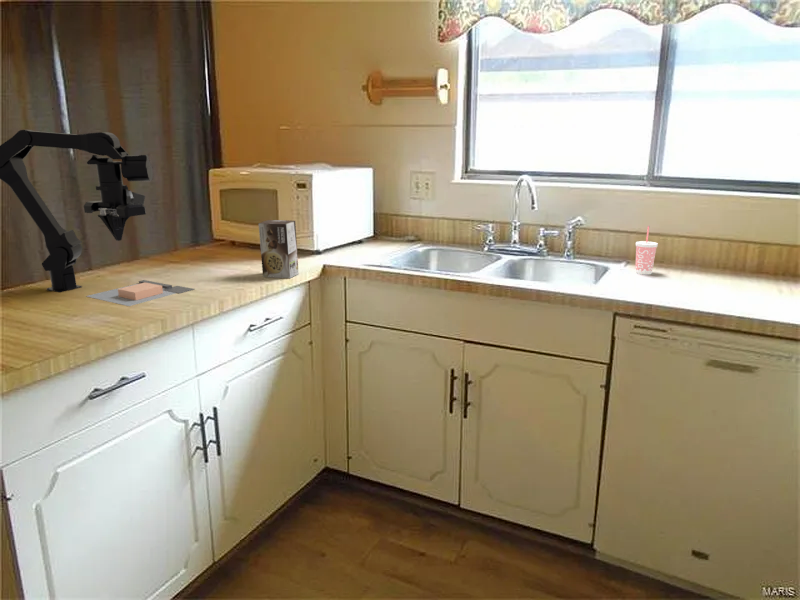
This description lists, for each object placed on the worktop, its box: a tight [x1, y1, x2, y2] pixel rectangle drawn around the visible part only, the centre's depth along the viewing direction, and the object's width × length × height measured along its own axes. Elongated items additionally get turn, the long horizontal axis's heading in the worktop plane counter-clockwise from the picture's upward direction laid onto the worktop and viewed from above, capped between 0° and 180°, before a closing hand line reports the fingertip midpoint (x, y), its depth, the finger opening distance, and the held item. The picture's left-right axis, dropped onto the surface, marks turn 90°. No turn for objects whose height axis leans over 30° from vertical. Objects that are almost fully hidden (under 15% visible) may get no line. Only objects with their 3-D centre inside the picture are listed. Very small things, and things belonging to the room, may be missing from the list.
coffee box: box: [257, 219, 299, 279], centre depth 173 cm, size 9×6×16 cm
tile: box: [118, 283, 163, 300], centre depth 153 cm, size 2×8×7 cm
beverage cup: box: [634, 225, 659, 275], centre depth 174 cm, size 6×6×14 cm
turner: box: [138, 279, 195, 295], centre depth 161 cm, size 19×5×1 cm, turn 59°
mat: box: [85, 282, 177, 307], centre depth 155 cm, size 18×16×1 cm
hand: (118, 240), depth 159 cm, fingers closed
